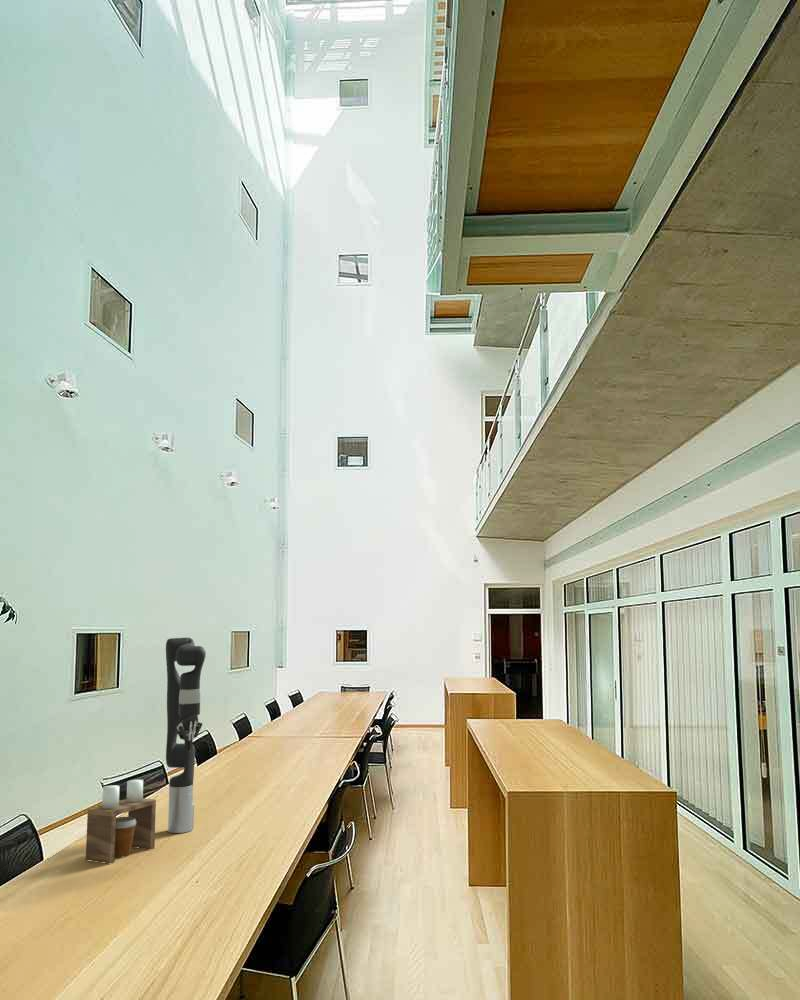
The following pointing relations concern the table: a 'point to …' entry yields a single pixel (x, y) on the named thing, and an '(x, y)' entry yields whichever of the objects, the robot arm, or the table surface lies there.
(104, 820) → the wooden bench stand
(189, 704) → the robot arm
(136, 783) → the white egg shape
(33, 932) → the table surface
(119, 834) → the disposable coffee cup
